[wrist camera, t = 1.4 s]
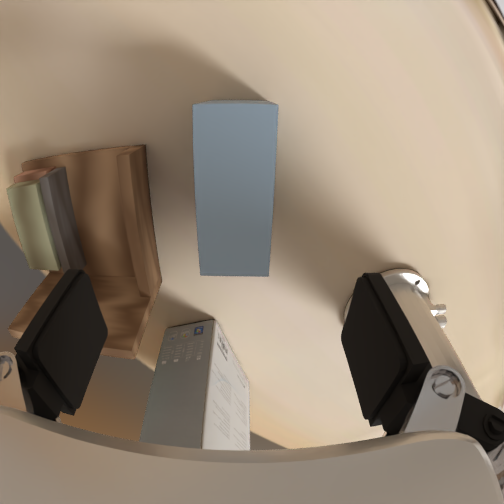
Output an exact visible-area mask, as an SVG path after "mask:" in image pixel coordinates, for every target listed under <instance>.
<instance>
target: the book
mask: <svg viewBox="0 0 504 504" xmlns="http://www.w3.org/2000/svg"><path fill="white" fill-rule="evenodd" d="M277 126H278V104H275V103H272V102H270V101H262V100H210V101H206V102H201V103H197V104H193V157H194V184H195V204H196V222H197V237H198V251H199V264H200V275H202V276H262V277H269V264H270V249H271V234H272V218H273V201H274V184H275V166H276V146H277Z"/></svg>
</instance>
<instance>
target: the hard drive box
mask: <svg viewBox="0 0 504 504" xmlns="http://www.w3.org/2000/svg"><path fill="white" fill-rule="evenodd" d="M139 442H145V443H151V444H158V445H166V446H175V447H184V448H196V449H211V450H250V401H249V381H248V379H247V377H246V376H245V374H244V372H243V370H242V368H241V366H240V365H239V363H238V361H237V359H236V357H235V355H234V353H233V352H232V350H231V348H230V346H229V344H228V342H227V340H226V338H225V336H224V334H223V332H222V331H221V329H220V327H219V325H218V323H217V321H216V320H214V321H213V320H208V321H203V322H198V323H193V324H188V325H183V326H178V327H173V328H168V329H166V330H165V334H164V337H163V341H162V345H161V349H160V353H159V356H158V360H157V364H156V368H155V372H154V377H153V381H152V385H151V389H150V394H149V398H148V403H147V407H146V411H145V416H144V421H143V425H142V431H141V436H140V440H139Z"/></svg>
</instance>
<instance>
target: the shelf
mask: <svg viewBox="0 0 504 504" xmlns="http://www.w3.org/2000/svg"><path fill="white" fill-rule="evenodd" d="M22 170H23V172H22V173H21V174H19V175H17V176H15V177H14V181H15V184H14V185H12V186H10V187H9V188H7V194H8V198H9V202H10V207H11V210H12V214H13V218H14V222H15V225H16V229H17V232H18V235H19V239H20V242H21V245H22V248H23V251H24V254H25V257H26V259H27V262H28V265H29V268H30V269H40V270H49V272H50V273H49V274H48V275H47V277H46V278H45V279H44V280H43V282H42V283H41V284H40V285H39V287H38V288H37V289H36V290H35V292H34V293H33V294H32V296H31V297H30V298H29V300H28V301H27V302H26V304H25V305H24V306H23V308H22V309H21V311H20V312H19V313H18V315H17V316H16V318H15V319H14V320H13V322H12V323H11V325H10V326H9V328H8V330H9V332H10V333H11V335H12V337H16V338H19V339H20V338H21V336H22V335H23V333H24V331H25V330H26V328H27V327H28V325H29V324H30V322H31V320H32V319H33V317H34V316H35V314H36V313H37V311H38V310H39V308H40V307H41V306H42V304H43V303H44V301H45V300H46V298H47V297H48V295H49V294H50V293H51V291H52V290H53V288H54V287H55V286H56V284H57V283H58V282H59V280H60V279H61V278H62V276H63V275H64V274H65V272H66V271H67V270H68V269H82V270H84V271H85V273H86V274H88V275H89V277H90V281H91V284H92V287H93V290H94V293H95V296H96V299H97V301H98V304H99V307H100V310H101V312H102V315H103V318H104V320H105V323H106V326H107V329H108V336H107V339H106V341H105V343H104V346H103V348H102V351H101V353H100V355H104V356H111V357H119V358H127V359H135V357H136V354H137V351H138V348H139V345H140V342H141V339H142V336H143V333H144V330H145V327H146V324H147V321H148V318H149V315H150V313H151V310H152V307H153V304H154V302H155V299H156V296H157V293H158V291H159V288H160V285H161V283H162V278H161V272H160V266H159V260H158V253H157V247H156V240H155V233H154V225H153V217H152V209H151V201H150V191H149V181H148V170H147V158H146V145H136V146H125V147H115V148H106V149H98V150H90V151H83V152H76V153H69V154H63V155H57V156H51V157H46V158H40V159H35V160H30V161H26V162H24V163H22Z"/></svg>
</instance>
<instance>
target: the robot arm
mask: <svg viewBox="0 0 504 504" xmlns="http://www.w3.org/2000/svg"><path fill="white" fill-rule="evenodd" d="M445 312H446V306H445V305H444V304H440V305H433V304H432V303H431V301H430V300H429V289H428V286H427V284H426V282H425V281H424V279H423V278H422V277H421V276H420V275H419V274H418V273H416V272H414V271H412V270H408V269H394V270H388V271H386V272H383V273H364V274H363V275H362V277H359V278H358V279H357V282H356V285H355V289H354V293H353V295H352V297H351V298H350V300H349V302H348V303H347V306H346V309H345V313H344V322H345V324H344V327H343V330H342V334H341V341H342V345H343V348H344V351H345V354H346V358H347V361H348V364H349V368H350V371H351V374H352V378H353V381H354V385H355V388H356V392H357V395H358V399H359V403H360V406H361V410H362V414H363V417H364V418H365V419H368V420H369V424H370V427H372V426H377V425H382V426H383V429H384V431H385V432H384V434H383V436H382V437H380V438H375V439H369V440H363V441H357V442H351V443H344V444H336V445H328V446H320V447H310V448H298V449H284V450H253V451H252V450H211V449H196V448H184V447H175V446H166V445H158V444H151V443H145V442H139V441H133V440H127V439H122V438H117V437H112V436H108V435H103V434H99V433H95V432H91V431H87V430H83V429H79V428H76V427H72V426H68V425H65V424H62V423H61V420H60V417H59V414H60V411H62V412H63V413H66V414H70V415H74V414H75V411H76V409H78V408H79V407H80V406H81V403H82V400H83V397H84V395H85V392H86V389H87V386H88V384H89V381H90V378H91V376H92V373H93V371H94V368H95V366H96V363H97V360H98V358H99V355H100V353H101V351H102V348H103V346H104V343H105V341H106V339H107V336H108V329H107V326H106V323H105V320H104V318H103V315H102V312H101V310H100V307H99V304H98V301H97V299H96V296H95V293H94V290H93V287H92V284H91V281H90V277H89V275H88V274H86V273H85V271H84V270H82V269H68V270H67V271H66V272H65V274H64V275H63V276H62V278H61V279H60V280H59V282H58V283H57V284H56V286H55V287H54V288H53V290H52V291H51V293H50V294H49V295H48V297H47V298H46V300H45V301H44V303H43V304H42V306H41V307H40V308H39V310H38V311H37V313H36V314H35V316H34V317H33V319H32V320H31V322H30V324H29V325H28V327H27V328H26V330H25V331H24V333H23V335H22V336H21V338H20V340H19V341H18V343H17V344H16V346H15V348H14V349H15V350H16V352H17V354H16V356H14V355H13V354H12V353H9V352H1V353H0V504H504V413H503V412H502V411H501V410H499V409H498V408H496V407H494V406H491V405H489V404H487V403H486V402H484V401H482V400H481V398H480V396H479V394H478V392H477V390H476V388H475V386H474V385H473V383H472V381H471V379H470V377H469V375H468V373H467V372H466V370H465V368H464V366H463V364H462V362H461V360H460V359H459V357H458V355H457V353H456V352H455V350H454V348H453V346H452V345H451V343H450V341H449V340H448V338H447V336H446V334H445V333H444V331H443V329H442V328H444V327H445V326H446V323H447V321H446V317H445V316H444V315H439V316H435V314H444V313H445Z"/></svg>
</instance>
